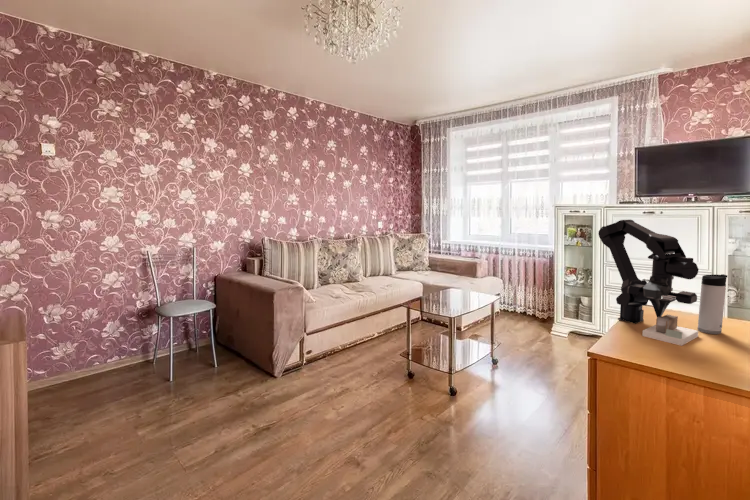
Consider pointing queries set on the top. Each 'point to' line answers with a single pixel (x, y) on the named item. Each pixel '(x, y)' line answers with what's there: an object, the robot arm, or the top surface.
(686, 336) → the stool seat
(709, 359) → the top surface
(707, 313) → the travel mug
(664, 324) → the grey knobbed lever
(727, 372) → the top surface
